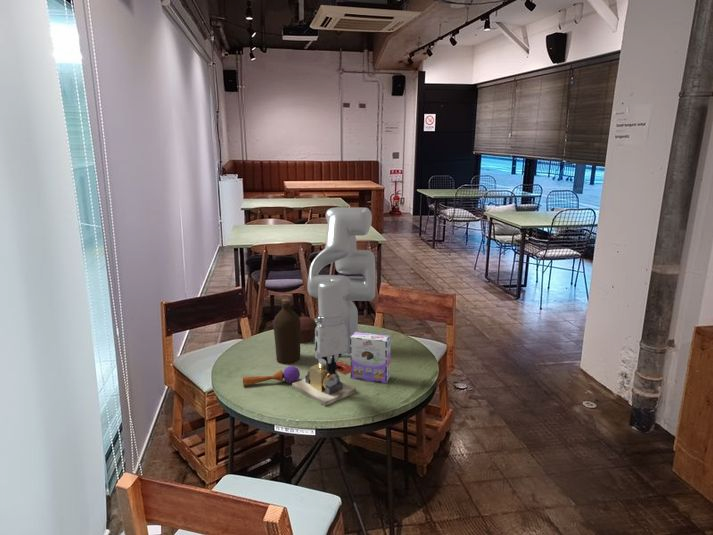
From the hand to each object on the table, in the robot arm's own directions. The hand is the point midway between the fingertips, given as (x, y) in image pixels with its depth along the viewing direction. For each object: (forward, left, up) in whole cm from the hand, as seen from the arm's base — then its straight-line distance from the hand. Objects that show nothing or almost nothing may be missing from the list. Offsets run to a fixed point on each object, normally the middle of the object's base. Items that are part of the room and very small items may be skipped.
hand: (331, 372), depth 160 cm
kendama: (+7, -25, -11) cm, 28 cm away
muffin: (-26, -49, -11) cm, 57 cm away
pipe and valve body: (-3, -8, -9) cm, 13 cm away
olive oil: (-9, -37, -11) cm, 40 cm away
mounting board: (-3, -8, -11) cm, 14 cm away
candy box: (-21, -3, -11) cm, 24 cm away
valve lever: (-3, -3, -2) cm, 5 cm away
